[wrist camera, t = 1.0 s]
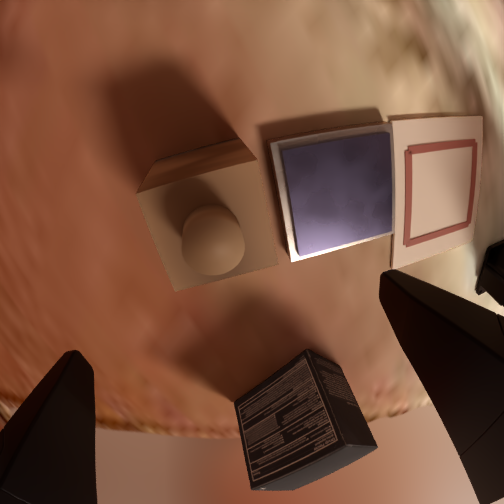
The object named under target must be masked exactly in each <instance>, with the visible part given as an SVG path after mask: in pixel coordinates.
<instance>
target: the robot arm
mask: <svg viewBox="0 0 504 504" xmlns="http://www.w3.org/2000/svg"><path fill="white" fill-rule="evenodd" d="M484 292H487V293H488V294H489V295H490V296H491V297H492V298H493V299H494V300H495V301H496V302H497V303H498V304H499V305H501V306H502V305H503V307H504V240H503V241H501V242H499V243H496V244H494V245H492V246H490V247H489V248H488V249H487V252H486V256H485V260H484V264H483V268H482V272H481V276H480V279H479V283H478V286H477V290H476V293H477V294H478V295H480V294H482V293H484ZM379 299H380V303H381V305H382V307H383V309H384V311H385V313H386V315H387V317H388V320H389V322H390V324H391V326H392V328H393V330H394V333H395V335H396V337H397V339H398V341H399V343H400V345H401V347H402V349H403V351H404V353H405V354H406V356H407V358H408V359H409V361H410V363H411V365H412V366H413V368H414V370H415V372H416V373H417V375H418V377H419V379H420V381H421V382H422V384H423V386H424V388H425V390H426V391H427V393H428V395H429V397H430V399H431V401H432V403H433V405H434V406H435V408H436V410H437V412H438V414H439V416H440V418H441V419H442V422H443V424H444V426H445V428H446V430H447V432H448V434H449V436H450V438H451V440H452V442H453V444H454V446H455V448H456V450H457V452H458V455H459V456H460V459H461V461H462V463H463V466H464V468H465V470H466V473H467V475H468V477H469V479H470V482H471V484H472V486H473V489H474V491H475V494H476V496H477V499H478V501H479V503H480V504H490V503H493V502H495V501H497V500H499V499H501V498H503V497H504V316H501V315H499V314H497V315H496V313H495V312H493V311H490V310H488V309H486V308H484V307H482V306H479V305H477V304H475V303H473V302H471V301H468V300H466V299H464V298H462V297H459V296H457V295H455V294H452V293H450V292H448V291H446V290H443V289H441V288H439V287H436V286H434V285H432V284H429V283H427V282H425V281H422V280H420V279H418V278H415V277H413V276H410V275H408V274H406V273H403V272H401V271H398V270H396V269H391V270H388V271H385V272H383V273H382V274H381V276H380V287H379ZM95 417H96V416H95V394H94V371H93V368H92V366H91V365H90V364H89V363H88V361H87V360H86V359H85V358H84V356H83V355H82V354H81V353H80V352H79V351H78V350H72V351H67V352H65V353H64V354H63V356H62V357H61V358H60V359H59V360H58V361H57V362H56V364H55V365H54V366H53V367H52V368H51V369H50V371H49V372H48V373H47V374H46V375H45V376H44V378H43V379H42V380H41V381H40V382H39V384H38V385H37V386H36V387H35V388H34V390H33V391H32V392H31V393H30V395H29V396H28V397H27V398H26V399H25V401H24V402H23V403H22V404H21V406H20V407H19V408H18V410H17V411H16V412H15V413H14V415H13V416H12V417H11V418H10V420H9V421H8V422H7V424H6V425H5V426H4V429H2V430H1V432H0V504H97V491H96V472H95V470H96V469H95Z"/></svg>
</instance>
